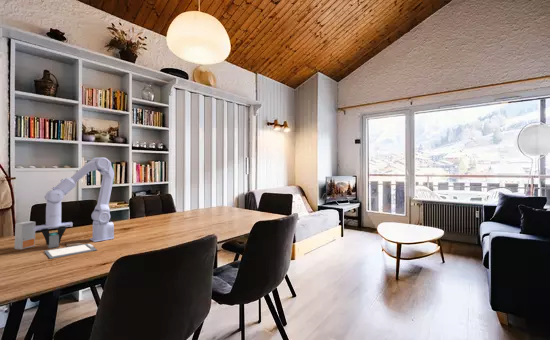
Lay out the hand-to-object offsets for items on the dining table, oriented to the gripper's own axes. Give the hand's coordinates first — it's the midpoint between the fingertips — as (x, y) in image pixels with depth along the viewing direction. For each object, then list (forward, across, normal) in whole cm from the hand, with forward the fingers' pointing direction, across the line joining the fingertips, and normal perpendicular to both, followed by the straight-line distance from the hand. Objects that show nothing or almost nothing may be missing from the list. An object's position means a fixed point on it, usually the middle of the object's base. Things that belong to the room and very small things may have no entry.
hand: (53, 243), depth 128 cm
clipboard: (+2, -4, +12) cm, 13 cm away
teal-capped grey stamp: (+2, 0, 0) cm, 2 cm away
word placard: (+2, -8, +2) cm, 8 cm away
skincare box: (+2, +9, -9) cm, 13 cm away
